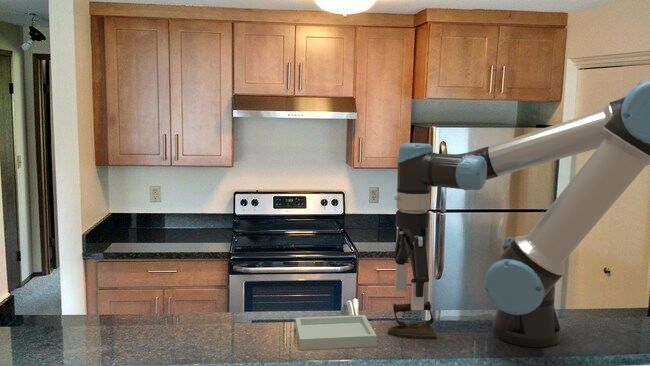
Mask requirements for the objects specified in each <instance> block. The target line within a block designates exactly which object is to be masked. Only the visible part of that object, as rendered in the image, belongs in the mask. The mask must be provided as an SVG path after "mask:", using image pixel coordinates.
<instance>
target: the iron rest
mask: <svg viewBox="0 0 650 366" xmlns="http://www.w3.org/2000/svg"><path fill="white" fill-rule="evenodd" d="M294 326H295V332H296V336H297V342H298V347H299V351H311V350H314V351H315V350H329V349H332V350H333V349H350V348H351V349H352V348H353V349H355V348H373V347H375V348H376V347H377V340H378V339H377V337H378V336H377V333H376V332H375V330H374V328H373V327H372V325H371V323H370V322H369V320H368V318H367V316H366V314H358V315H357V314H355V315H353V314H352V315H331V316H329V315H328V316H307V317H302V316H301V317H295V325H294Z"/></svg>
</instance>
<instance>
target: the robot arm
mask: <svg viewBox="0 0 650 366" xmlns="http://www.w3.org/2000/svg"><path fill="white" fill-rule="evenodd" d="M398 149H399V150H398V158H397V163H396V165H397V178H396V179H397V180H396V181H397V184H396V186H397V187H396V195H395V196H394V200H395V201H396V206H395V207H396V208H397V210H396V212H395V226H396V228H397V230H398V231H397V232H398V233H397V237H396V243H395V248H394V254H393V259H394V261H395V280H394V281H395V284H394V285H395V286H394V288H395V289H394V290H395V291H396V292H399V291H400V292H403V291H407V288H408V285H407V284H408V266H409V265H408V264H409V263H410V266H411V271H412V276H413V278H411V279H410V283H411V298H410V300H411V301H410V304H411V310H418V311H425V310H424V303H425V290H426V289H425V288H426V283H429V282H430V276H429V266H428V265H429V263H428V255H427V237H426V236H421V235H422V234H421V231H422V230H426V229H428V228H429V221H430V219H429V218H430V213H429V212H428V211H429V210H430V208H431V207H430V206H431V205H430V204H431V203H430V202H431V187H433V188H436V187H437V188H445V189H446V188H448V189H455V190H463V191H470V190H471V191H480V190H481V189H483V188H484V186H485V183H487V182H486V181H488V180H491V179H494V178H498V177H501V176H505V175H508V174H512V173H515V172H519V171H522V170H526V169H529V168H533V167H537V166H540V165H544V164H546V163H550V162H554V161H557V160H560V159H565V158H568V157H572V156H576V155H579V154H582V153H583V154H584V153H586V152H590V151H593V150H595V151H594V152H593V153H592V154H591V156H590V157H589V158H588V159H587V160H586V161H585V162H584V164H583V166H582V167H581V168H580V169H579V170H578V172H577V173H576V174H575V175H574V177H572V179H571V180H570V182H568V184H567V185H566V187H565V188H564V189H563V190H562V191H561V192H560V194H559V195H558V196H557V198H556V199H555V200H554V202H553V203H552V204H551V205H550V207H548V208H547V209H546V211H545V213H543V215H542V216H541V217H540V219H539V220H538V221H537V222H536V223H535V225H534V226H533V228H531V230H530V231H529V232H528V234H525V235H524V234H523V235H516V236H508V237H506V238H504V241H503V245H502V249H503V252H502V254H501V255H500V256H499V258H498V259H496V261H495V262H493V263H491V264H490V266H489V267H488V269H487V270H486V274H485V276H484V280H483V281H484V290H485V293H486V295H487V298H488V299H489V301H490V302H491V303H492V304H493V306H494V307H496V308H497V309H496V312H495V315H494V317H493V319H492V322H491V323H492V328H491V331H492V334H493V335H495V337H496V338H498V339H501V340H502V341H504V342H507V343H509V344H513V345H517V346H523V347H528V348H545V347H553V346H556V345H557V344H559V343H560V342H561V341H562V339H561V338H562V337H561V336H562V329H561V325H560V322H559V318H558V315H557V311H556V307H555V297H556V296H555V295H556V284H557V282H558V281H559V280H560V279H561V278H562V277H563V275H565V274H566V270H565V269H566V268H565V264H564V263H565V261H566V260H567V258H568V257H569V256H570V255H571V254H572V253H573V251H574V250H575V249H576V248H577V247H578V246H579V245H580V244H581V242H583V240H584V239H585V237H587V235H588V234H589V233H590V232H591V231H592V230H593V229H594V227H595V226H596V225H597V224H598V223H599V221H600V220H601V219H602V218H603V216H605V214H607V212H608V211H609V209H610V208H611V207H612V206H613V205H614V204H615V203H616V202H617V200H618V199H619V198H620V197H621V196H622V194H624V192H625V191H626V190H627V189H628V188H629V187H630V185H631V184H632V183H633V182H634V181H635V180H636V178H637V177H638V176H639V175H640V174H641V172H643V170H644V169H645V168H646V167H647V166H650V78H647V79H645V80H643V81H641V82H638V84H636V85H635V86H633V87H632V88H631V89H630V90H629V91H628V92H627V94H626V95H625V96H624V97H621V98H618V99H615V100H614V101H610V102H608V103H607V104H606V106H605V107H604V108H603V109H600V110H597V111H594V112H591V113H588V114H586V115H582V116H579V117H575V118H572V119H570V120H567V121H566V120H565V121H562V122H561V123H557V124H554V125H550V126H547V127H544V128H541V129H539V130H534V131H531V132H528V133H525V134H522V135H519V136H516V137H513V138H509V139H507V140H504V141H500V142H497V143H495V144H491V145H489V146H485V147H481V148H478V149H476V150H472V151H469V152H464V153H456V154H455V153H454V154H453V153H437V152H434V151H433V147H432V145H431V144H430V143H424V142H423V143H419V142H415V143H414V142H405V143H402V144H401V145H399V148H398ZM409 259H410V260H409Z"/></svg>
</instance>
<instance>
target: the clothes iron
mask: <svg viewBox="0 0 650 366" xmlns="http://www.w3.org/2000/svg"><path fill="white" fill-rule="evenodd" d="M392 307H393V308H392V309H393V314H394V318H395V320H396V323H397V324H398V325H394V326H392V327H390V328H389V329H388V330H387V335H388V336H391V337H397V338H404V339H412V340H413V339H414V340H437V339H438V337H437V334H436V333H435V331H434V329H433V328H432V327H431V324H433V323H434V316H433V314H432V306H431V302H430V301H429V300H427V301H426V302H425V301H424V310H423V311H429V314H430V318H429V320H428V321H417V322H409V323H406V322H404V321H399V320H398V316H397V313H402V312H413V311H414V312H416V311H417V312H418V311H419V310H411V303H401V304H396V303H393V305H392Z"/></svg>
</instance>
